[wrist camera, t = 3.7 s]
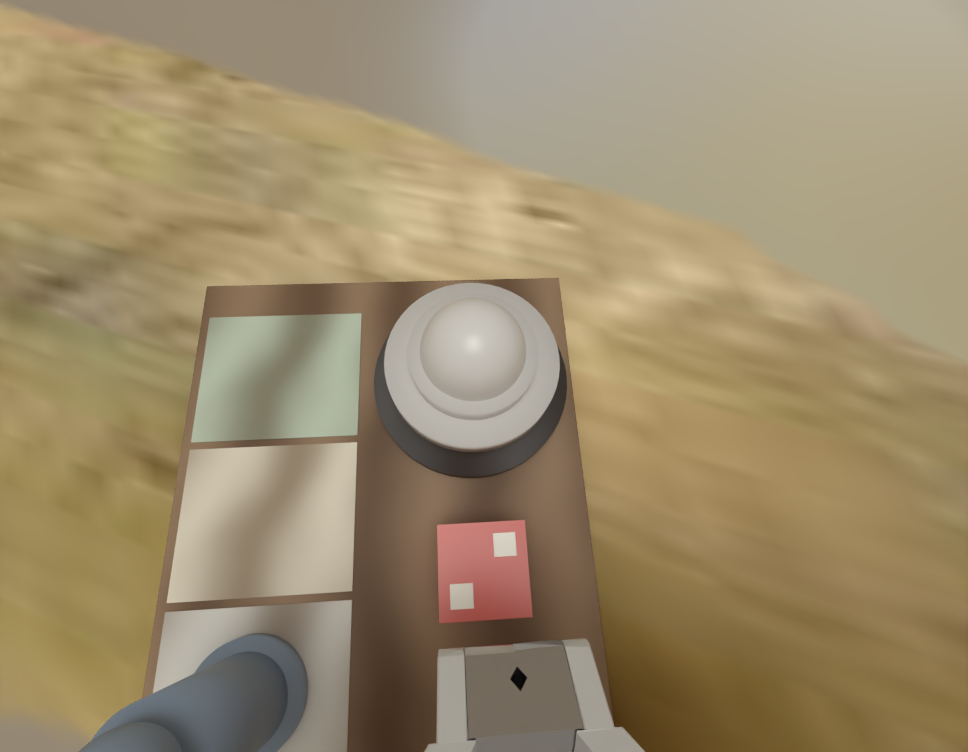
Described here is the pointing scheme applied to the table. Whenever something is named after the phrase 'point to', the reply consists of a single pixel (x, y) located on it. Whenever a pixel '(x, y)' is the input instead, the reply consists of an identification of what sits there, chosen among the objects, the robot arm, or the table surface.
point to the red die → (483, 571)
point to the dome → (471, 366)
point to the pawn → (218, 704)
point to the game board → (353, 511)
